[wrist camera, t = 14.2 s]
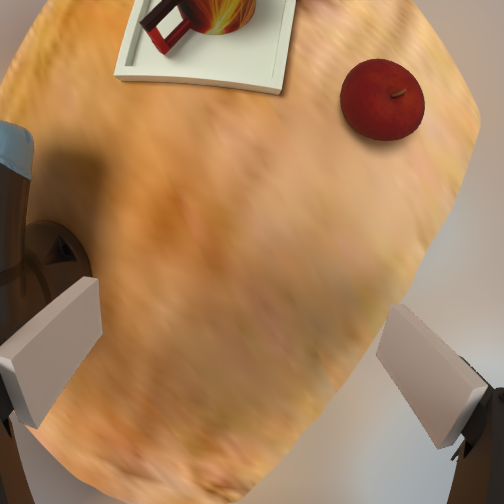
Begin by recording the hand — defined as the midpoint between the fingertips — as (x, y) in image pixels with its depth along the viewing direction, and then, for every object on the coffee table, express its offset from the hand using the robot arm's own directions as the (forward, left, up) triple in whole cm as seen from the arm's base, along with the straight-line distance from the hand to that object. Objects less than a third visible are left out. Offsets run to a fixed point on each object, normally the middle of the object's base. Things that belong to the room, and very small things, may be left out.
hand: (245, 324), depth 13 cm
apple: (+13, +17, -27) cm, 34 cm away
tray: (-8, +26, -26) cm, 38 cm away
